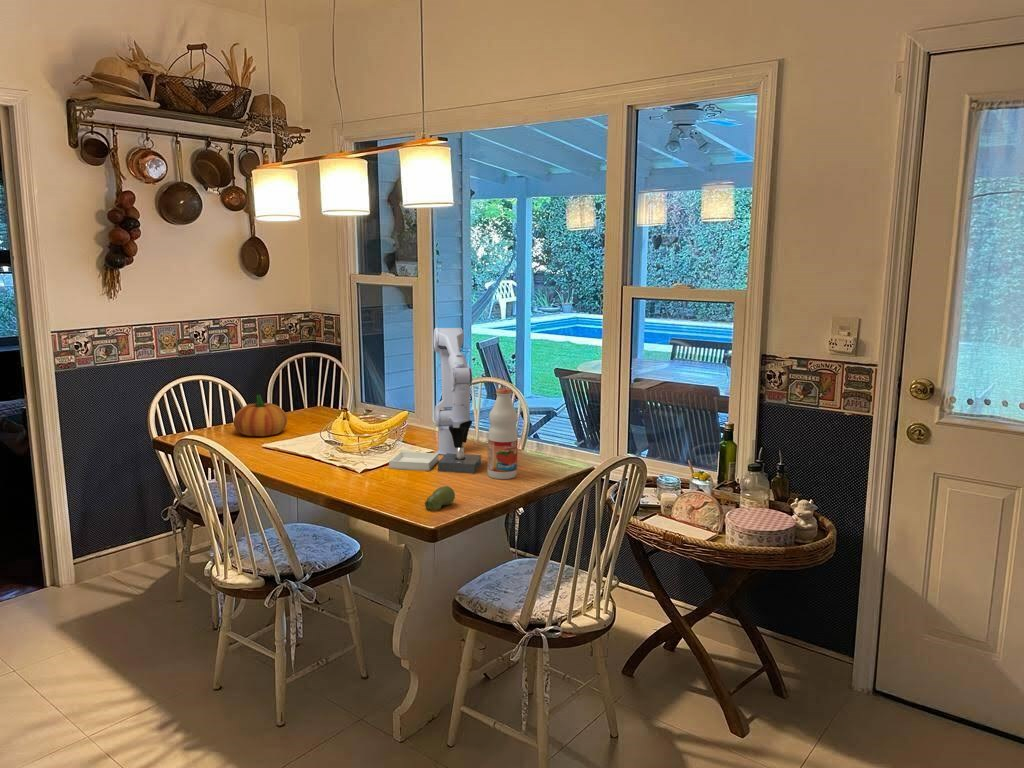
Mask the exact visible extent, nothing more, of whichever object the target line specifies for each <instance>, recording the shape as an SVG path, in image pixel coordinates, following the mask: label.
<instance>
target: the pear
mask: <svg viewBox="0 0 1024 768" xmlns="http://www.w3.org/2000/svg"><path fill="white" fill-rule="evenodd" d="M455 499H456V494H455V490H454V489H453V488H452V487H450V486H448V485H444V486H440V487H438V488H437V489H435V490H434V491H433V492H432V494H431V495H429V496H428V497H427V498H426V500H425V502H424V506H425V509H426V510H429V509H430V510H429V511H431V510H437V511H440V510H441V508H442V506H449V505H452V504H453V502H454V501H455Z"/></svg>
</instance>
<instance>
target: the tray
mask: <svg viewBox="0 0 1024 768" xmlns="http://www.w3.org/2000/svg"><path fill="white" fill-rule="evenodd" d="M438 462H439V454H438V453H436V452H421V451H405V450H404V451H403V450H400V451H399V452H398V453H396V454H395V455H394V456H393V457H392V458H390V460H389V461H388V468H389V469H390V470H402V471H404V470H406V471H408V470H409V471H419V472H420V471H421V472H423V471H424V472H429V471H430V470H432V468H433V467H434V466H435V465H436V464H438Z"/></svg>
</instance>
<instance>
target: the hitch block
mask: <svg viewBox="0 0 1024 768" xmlns="http://www.w3.org/2000/svg"><path fill="white" fill-rule="evenodd" d="M481 465H482V454H467V453H464V460H457V454H452V453H446V454H445V455H443V456H442V457H441V458H440V459H439V460H438V462H437V471H438V472H443V473H445V472H446V473H460V474H461V473H463V474H475V473H476V472H477V471H478V469H479V468H480V466H481Z"/></svg>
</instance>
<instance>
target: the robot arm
mask: <svg viewBox="0 0 1024 768" xmlns="http://www.w3.org/2000/svg"><path fill="white" fill-rule="evenodd" d="M464 335H465V334H464V329H462V327H435V328H434V330H433V349H434V352H435V353H436V354H439V355H438V356H439V360H440V379H441V400H440V401H439V402H438V403H437V404H436V405H435V406H434V414H433V416H434V417H433V422H434V425H435V427H436V428H438V450H436V451H435V453H438V455H443V456H444V455H445V454H446V453H452V454H457V448H461V447H462V443H464V444H466V443H467V440H468V436H469V431H470V428H471V425H472V424H473V420H471V417H470V416H471V415H470V412H471V411H470V409H471V404H470V403H471V400H470V399H471V385H472V383H473V371H472V367H471V366H470V365H468V364H467V363H468V362H467V359H466V357H465V354H463V353H462V352H461V349H462V345H463V343H464V339H465V337H464Z"/></svg>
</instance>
